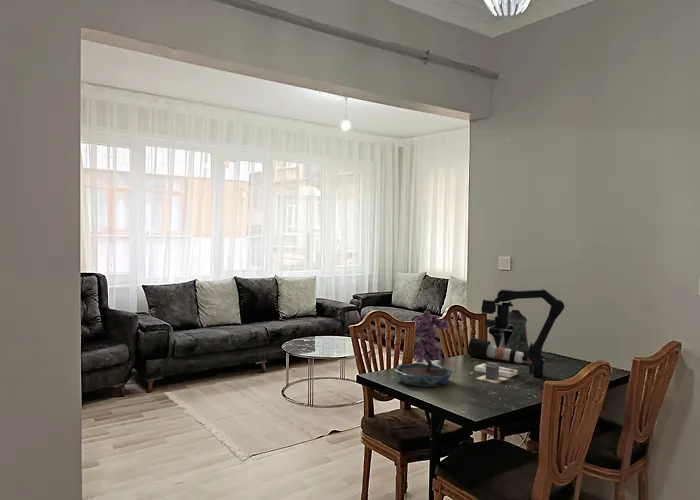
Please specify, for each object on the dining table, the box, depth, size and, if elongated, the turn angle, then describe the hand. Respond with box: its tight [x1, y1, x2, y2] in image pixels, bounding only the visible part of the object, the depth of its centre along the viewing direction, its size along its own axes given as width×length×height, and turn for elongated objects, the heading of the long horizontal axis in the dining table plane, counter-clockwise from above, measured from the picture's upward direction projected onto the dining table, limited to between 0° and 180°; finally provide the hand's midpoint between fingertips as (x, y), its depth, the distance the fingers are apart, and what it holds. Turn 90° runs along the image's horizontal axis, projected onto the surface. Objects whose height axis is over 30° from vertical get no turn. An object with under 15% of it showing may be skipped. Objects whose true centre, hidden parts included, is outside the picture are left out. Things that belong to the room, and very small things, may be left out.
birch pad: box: [475, 374, 509, 386], centre depth 249 cm, size 11×11×1 cm
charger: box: [485, 361, 500, 380], centre depth 249 cm, size 4×4×7 cm
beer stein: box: [500, 309, 530, 357], centre depth 310 cm, size 16×19×25 cm
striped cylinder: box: [467, 337, 532, 364], centre depth 291 cm, size 10×34×10 cm, turn 62°
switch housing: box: [474, 363, 518, 379], centre depth 261 cm, size 18×9×4 cm, turn 49°
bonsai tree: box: [393, 310, 453, 388], centre depth 246 cm, size 35×27×32 cm
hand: (501, 346), depth 265 cm, fingers open, 9 cm apart
